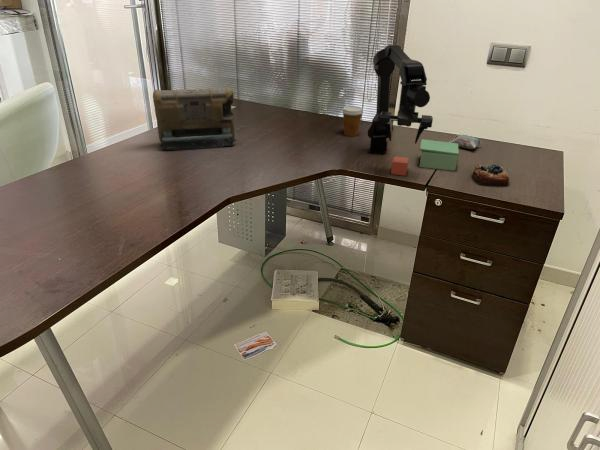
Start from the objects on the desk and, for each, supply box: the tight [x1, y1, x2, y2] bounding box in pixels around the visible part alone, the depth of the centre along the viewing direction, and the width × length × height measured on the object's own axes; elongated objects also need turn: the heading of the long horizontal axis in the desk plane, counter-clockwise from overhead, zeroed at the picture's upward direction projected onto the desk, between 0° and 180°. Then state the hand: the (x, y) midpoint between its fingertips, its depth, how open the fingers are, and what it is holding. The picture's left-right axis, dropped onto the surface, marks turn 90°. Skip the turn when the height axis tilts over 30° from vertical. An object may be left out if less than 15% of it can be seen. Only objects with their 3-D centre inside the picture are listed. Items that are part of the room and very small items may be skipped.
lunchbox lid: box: [419, 138, 460, 156], centre depth 178 cm, size 14×12×1 cm
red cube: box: [390, 156, 410, 177], centre depth 172 cm, size 6×6×5 cm
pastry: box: [472, 164, 510, 187], centre depth 166 cm, size 11×12×6 cm
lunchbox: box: [419, 151, 459, 172], centre depth 180 cm, size 14×12×6 cm
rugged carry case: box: [152, 86, 236, 151], centre depth 192 cm, size 33×14×25 cm, turn 108°
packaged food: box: [448, 134, 483, 150], centre depth 197 cm, size 9×12×5 cm
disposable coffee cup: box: [341, 105, 364, 137], centre depth 210 cm, size 10×10×12 cm
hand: (402, 142), depth 168 cm, fingers open, 9 cm apart
